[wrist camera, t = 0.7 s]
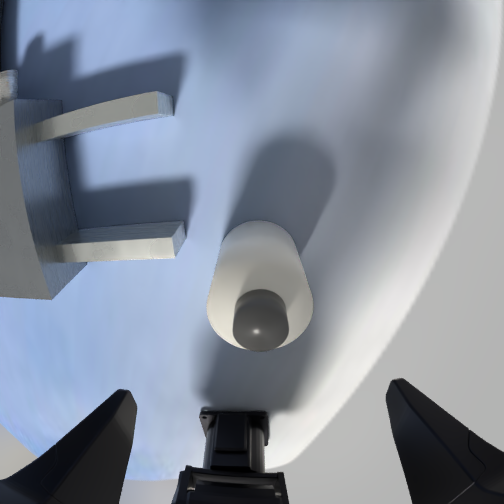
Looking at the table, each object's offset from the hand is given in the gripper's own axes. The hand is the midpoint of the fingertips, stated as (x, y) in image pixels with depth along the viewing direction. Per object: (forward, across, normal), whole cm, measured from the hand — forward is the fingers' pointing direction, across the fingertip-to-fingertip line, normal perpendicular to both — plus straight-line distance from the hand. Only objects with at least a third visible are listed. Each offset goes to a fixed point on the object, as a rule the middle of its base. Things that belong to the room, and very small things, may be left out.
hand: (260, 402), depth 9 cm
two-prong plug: (+11, +12, -8) cm, 18 cm away
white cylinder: (+11, 0, 0) cm, 11 cm away
